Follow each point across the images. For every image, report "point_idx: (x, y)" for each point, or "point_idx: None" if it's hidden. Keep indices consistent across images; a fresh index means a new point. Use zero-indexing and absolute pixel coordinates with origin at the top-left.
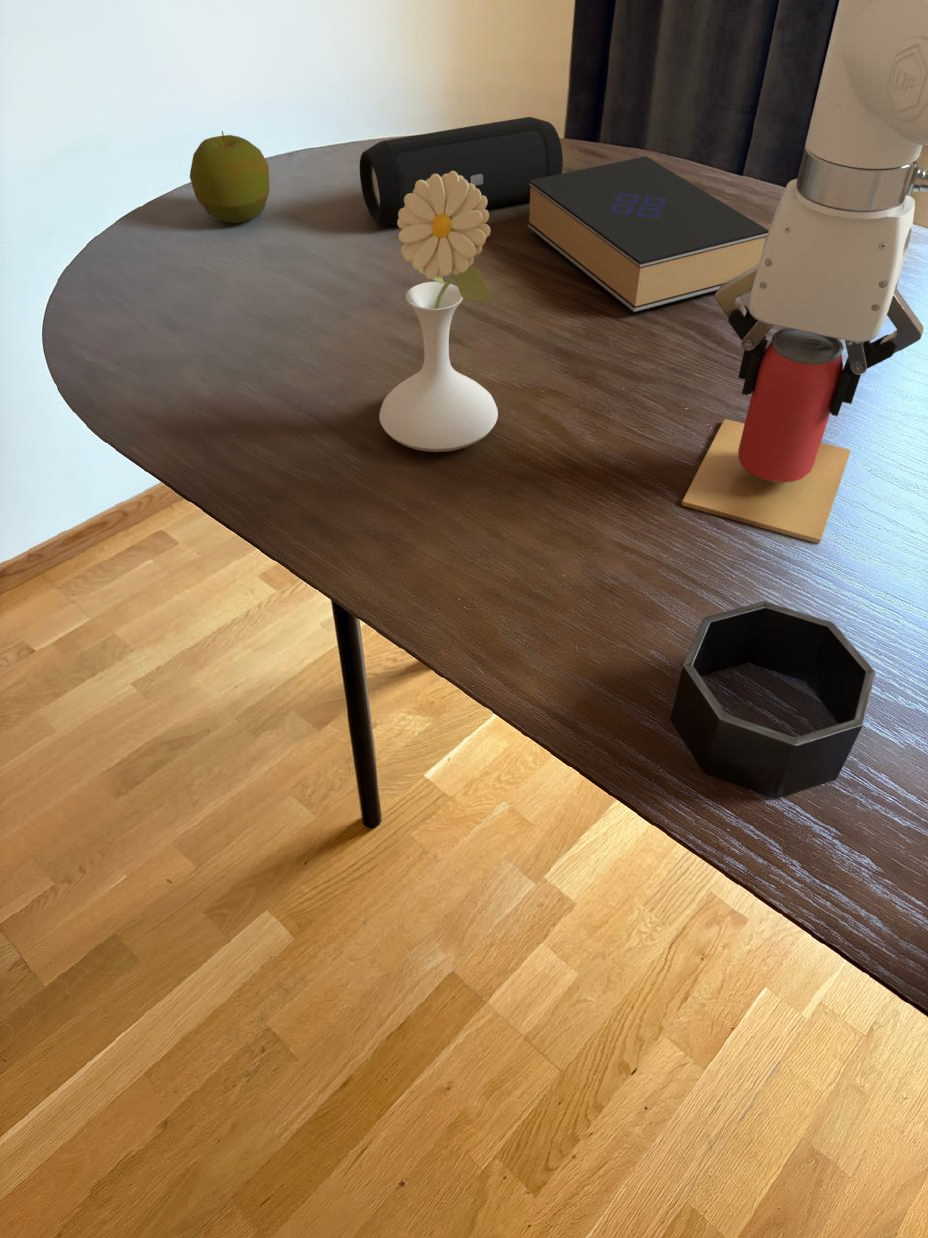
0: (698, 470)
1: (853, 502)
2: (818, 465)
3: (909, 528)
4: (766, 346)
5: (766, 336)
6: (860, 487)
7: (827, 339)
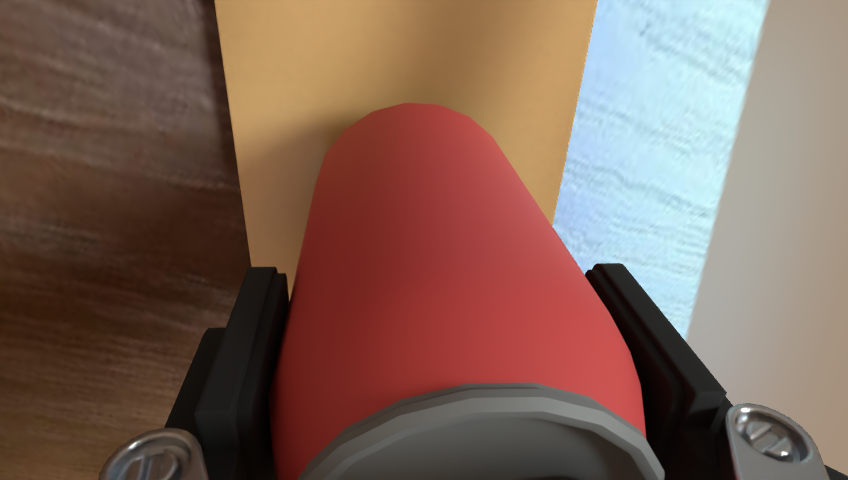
0: (246, 224)
1: (597, 171)
2: (517, 86)
3: (701, 206)
4: (259, 377)
5: (232, 418)
6: (616, 110)
7: (582, 438)
